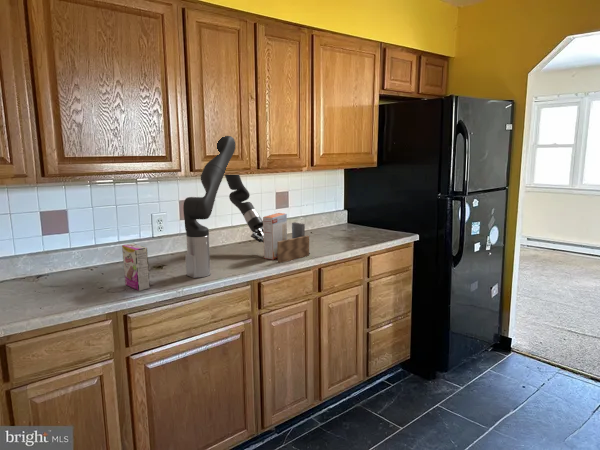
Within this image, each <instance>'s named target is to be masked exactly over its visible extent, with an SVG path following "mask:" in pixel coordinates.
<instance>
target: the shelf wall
mask: <svg viewBox="0 0 600 450" xmlns="http://www.w3.org/2000/svg"><path fill="white" fill-rule="evenodd" d="M277 253H278V258H277V263H279V264H281V263H284V262H285V263H286V262H289V261H292V260H296V259H301V258H304V257H309V256H310V254H309V253H310V235H305V236H302V237H298V238H293V239H292V238H287V240H283V241H278V242H277Z"/></svg>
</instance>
